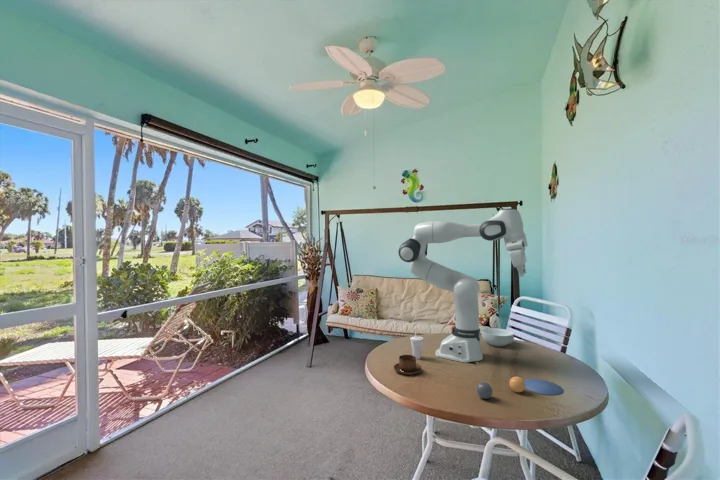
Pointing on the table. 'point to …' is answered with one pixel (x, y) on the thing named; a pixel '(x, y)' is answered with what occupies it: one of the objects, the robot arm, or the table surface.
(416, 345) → the smoothie
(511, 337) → the cereal bowl
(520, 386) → the orange ball
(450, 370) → the table surface
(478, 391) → the charcoal ball
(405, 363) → the cup and saucer
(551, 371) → the table surface
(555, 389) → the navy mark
